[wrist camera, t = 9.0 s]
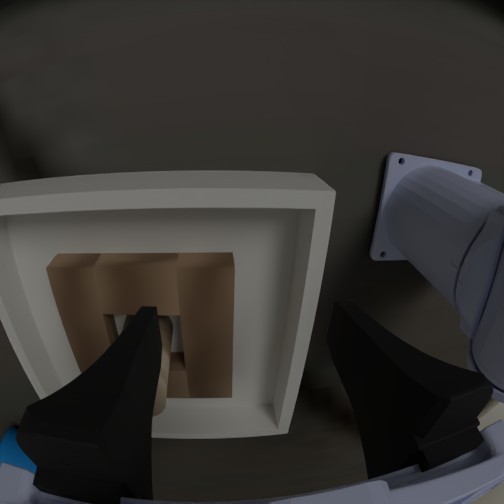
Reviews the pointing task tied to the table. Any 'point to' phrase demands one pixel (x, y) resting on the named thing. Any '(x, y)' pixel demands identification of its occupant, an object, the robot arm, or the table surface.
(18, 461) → the alarm clock
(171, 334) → the peg
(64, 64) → the table surface
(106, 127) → the table surface
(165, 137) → the table surface
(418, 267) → the robot arm
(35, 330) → the tray
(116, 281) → the bore plate
